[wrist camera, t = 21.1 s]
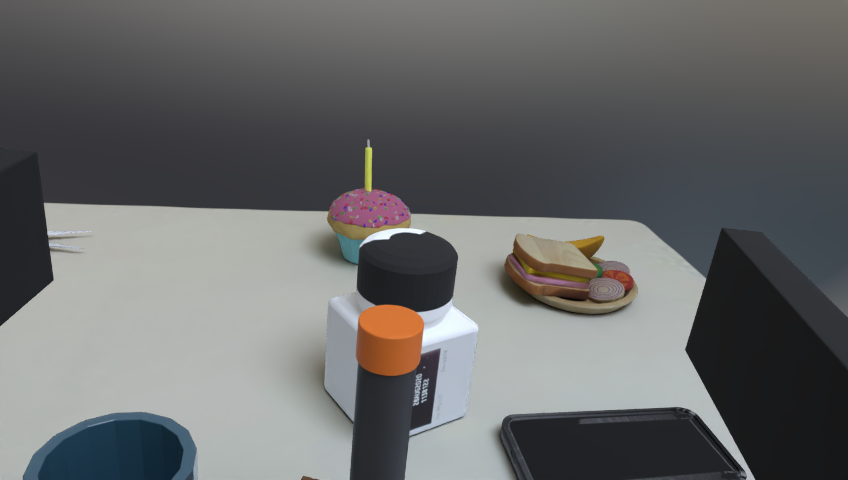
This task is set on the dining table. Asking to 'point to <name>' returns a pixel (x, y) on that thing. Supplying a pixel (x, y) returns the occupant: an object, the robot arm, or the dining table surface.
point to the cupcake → (365, 214)
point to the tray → (307, 478)
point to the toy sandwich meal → (570, 274)
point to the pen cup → (118, 450)
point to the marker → (384, 390)
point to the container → (426, 295)
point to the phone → (616, 446)
